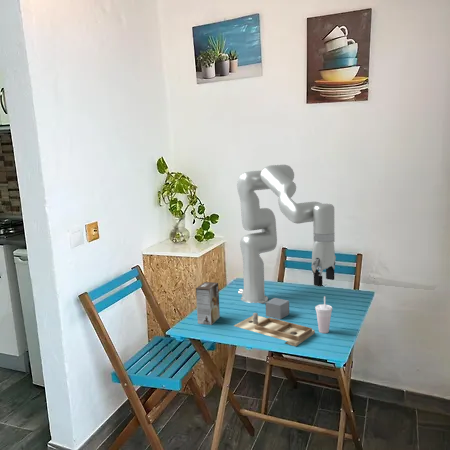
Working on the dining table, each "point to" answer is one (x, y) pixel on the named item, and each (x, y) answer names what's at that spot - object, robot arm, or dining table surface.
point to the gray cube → (277, 308)
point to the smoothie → (323, 317)
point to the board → (277, 329)
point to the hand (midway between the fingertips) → (324, 282)
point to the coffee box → (207, 303)
